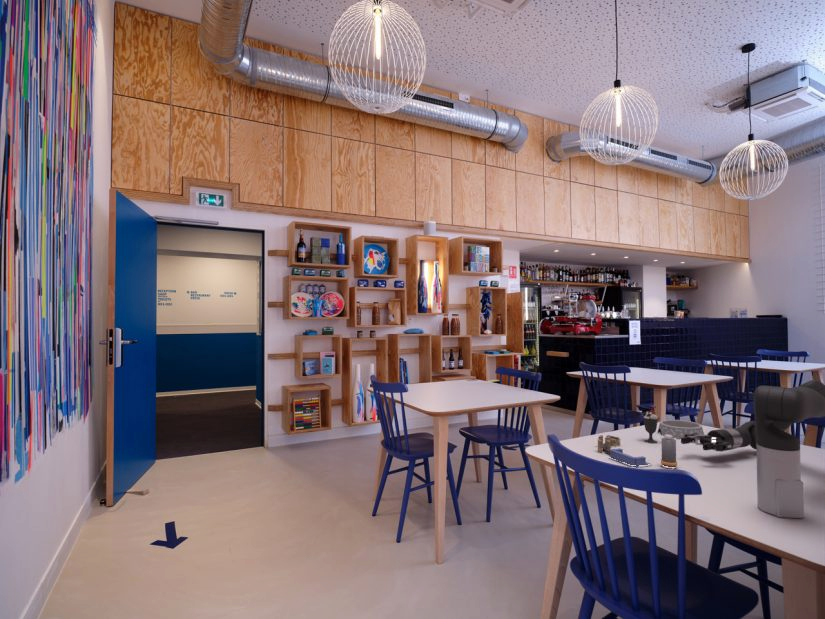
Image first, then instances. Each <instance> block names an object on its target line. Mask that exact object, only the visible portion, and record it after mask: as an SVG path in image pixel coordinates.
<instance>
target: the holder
mask: <svg viewBox="0 0 825 619" xmlns="http://www.w3.org/2000/svg"><path fill="white" fill-rule="evenodd" d="M609 457H611V458H613V459H616V460H618V461H621V462H625V463H627V464H630V465H636V466H633V467H638V466H639V465H648V464H651V463H650V462H647V460H646V458H647V457H646V456H644V455H643V456H632V455H629V454H626V453H624V449H623V448H620V447H619V448H612V449H611V448H610V454H609ZM613 459H612V460H613ZM618 461H617V462H618ZM633 467H632V468H633Z"/></svg>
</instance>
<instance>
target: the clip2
mask: <svg viewBox="0 0 825 619" xmlns="http://www.w3.org/2000/svg"><path fill="white" fill-rule="evenodd" d="M605 438H606V437H605ZM598 439H600V440H601V441H602V449H603V444H604V435H601V434H600V435H598ZM598 439H597V440H598ZM606 440H609V441H610V449H611V448H612V446H611V437H609V436H608V437H607V438H606Z"/></svg>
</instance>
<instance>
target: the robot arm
mask: <svg viewBox="0 0 825 619" xmlns="http://www.w3.org/2000/svg"><path fill="white" fill-rule="evenodd" d="M753 411H754V412H753V413H754V420H749V421H746V422H744V423H742V424H741V425H739V426H738V427H735V428H734V427H732V428H721V429H713V430H710V431H708V433H707V434H704V435H698V434H697V433H695V434H685V435H684V436H685V437H683V438H681V440H680V444H682V445H686V444H695V446H702V450H703V451H711V450H712V451H715V452H727V451H731V450H735V449H740V448H745V447H748V446H750V447H751V448H752V449H753V450H756V492H757V498H756V500H757V507H758V509H759V510H761V511H762V512H765V513H768V514H770V515H774V516H776V517H777V518H794V519H797V518H798V519H804V518H805V516H804V515H805V512H804V510H805V509H804V508H805V507H804V506H805V505H804V502H805V501H804V482H803V481H802V477H801V473H802V472H801V467H802V466H801V441H800V439H799V438H798V436H795V435H794V434H792V433H791V434H790V433H789V432H786V431H787V430H788V429H789V428H790V427H791V426H792V424H798V423H802V422H804V421H805V420H806V419H813V418H814V419H815V418H816V419H817V418H818V419H819V418H820V419H821V418H824V417H825V384H824V383H823V382H821V380H819V379H812V380H809V381H806V382H805V383H802V384H800V385H799V386H793V387H783V386H772V385H759V386H757V387H756V388H755V390H754V393H753ZM698 439H699V440H698Z"/></svg>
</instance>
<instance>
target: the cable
mask: <svg viewBox="0 0 825 619" xmlns="http://www.w3.org/2000/svg"><path fill="white" fill-rule="evenodd" d="M611 445H612V444H611ZM602 450H603V451H604V452H606V453H605V454H606V455H607V454H608V455H610V450H611V449H610V450H608V449H606V443H605V442H603V448H602Z"/></svg>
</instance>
